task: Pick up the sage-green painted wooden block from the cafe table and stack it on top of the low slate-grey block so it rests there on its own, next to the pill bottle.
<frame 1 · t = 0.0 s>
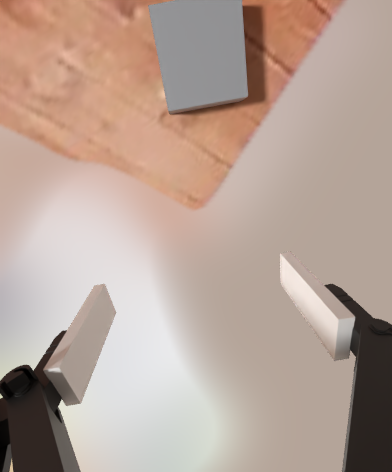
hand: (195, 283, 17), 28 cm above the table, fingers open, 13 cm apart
slate block: (199, 63, 34), on the table
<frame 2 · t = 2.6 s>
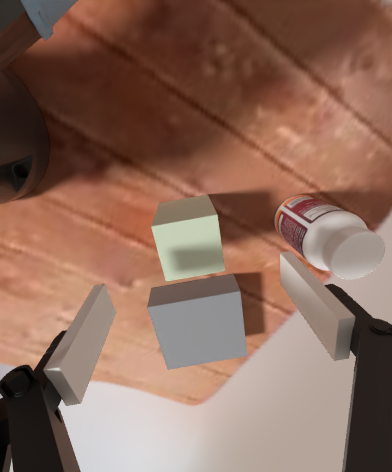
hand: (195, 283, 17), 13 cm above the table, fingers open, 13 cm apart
sage block: (187, 221, 28), on the table
pill bottle: (295, 216, 29), on the table
slate block: (198, 312, 34), on the table
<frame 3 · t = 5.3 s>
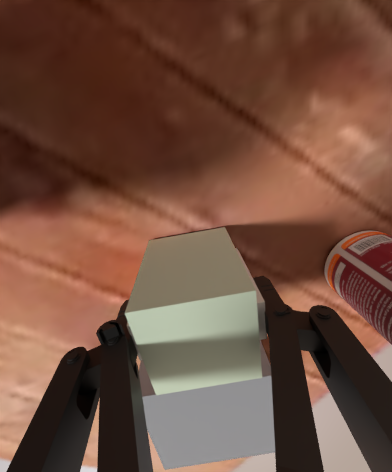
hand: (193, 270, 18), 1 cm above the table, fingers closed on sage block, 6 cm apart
sage block: (193, 266, 19), on the table, touching gripper
pill bottle: (354, 259, 20), on the table
slate block: (208, 385, 25), on the table
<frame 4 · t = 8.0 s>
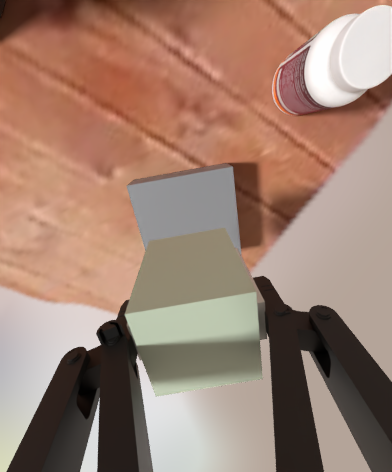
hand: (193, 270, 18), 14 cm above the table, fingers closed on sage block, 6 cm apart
sage block: (193, 266, 19), point 13 cm above the table, touching gripper
pill bottle: (296, 86, 26), on the table
slate block: (188, 215, 31), on the table
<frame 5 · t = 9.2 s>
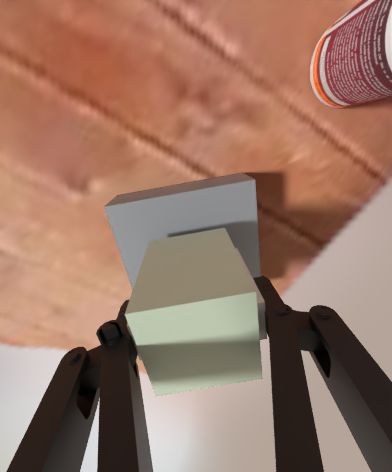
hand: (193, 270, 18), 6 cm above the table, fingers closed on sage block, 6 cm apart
sage block: (193, 266, 19), point 5 cm above the table, touching gripper
pill bottle: (342, 66, 18), on the table
slate block: (190, 240, 23), on the table
when the fingers open (5 cm above the table, at t = 10.4 s): sage block stays where it is, resting on slate block.
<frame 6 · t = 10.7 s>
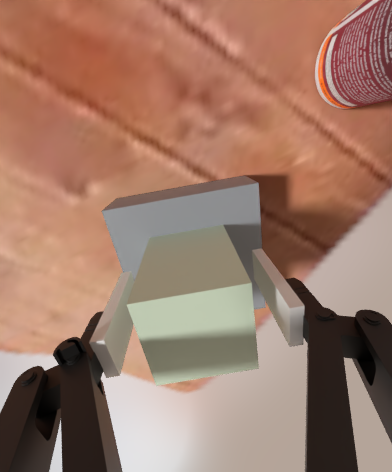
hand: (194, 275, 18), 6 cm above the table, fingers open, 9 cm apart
sage block: (192, 263, 19), point 4 cm above the table, touching slate block
pill bottle: (348, 65, 18), on the table
slate block: (191, 245, 23), on the table
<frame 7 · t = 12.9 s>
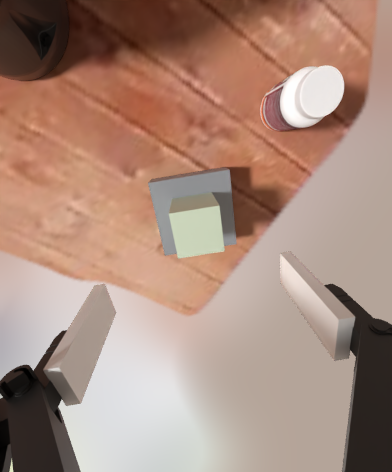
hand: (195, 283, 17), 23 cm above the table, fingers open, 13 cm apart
sage block: (194, 214, 35), point 4 cm above the table, touching slate block
pill bottle: (279, 109, 33), on the table
slate block: (194, 208, 38), on the table
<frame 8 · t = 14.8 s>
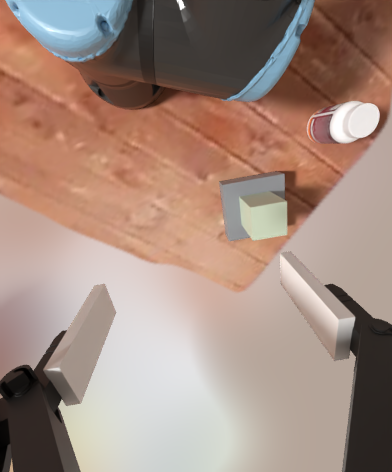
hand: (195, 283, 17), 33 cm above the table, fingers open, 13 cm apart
sage block: (255, 208, 45), point 4 cm above the table, touching slate block
pill bottle: (320, 126, 43), on the table
slate block: (249, 204, 48), on the table
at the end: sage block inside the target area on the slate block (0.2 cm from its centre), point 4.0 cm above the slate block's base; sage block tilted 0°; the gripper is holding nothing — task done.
